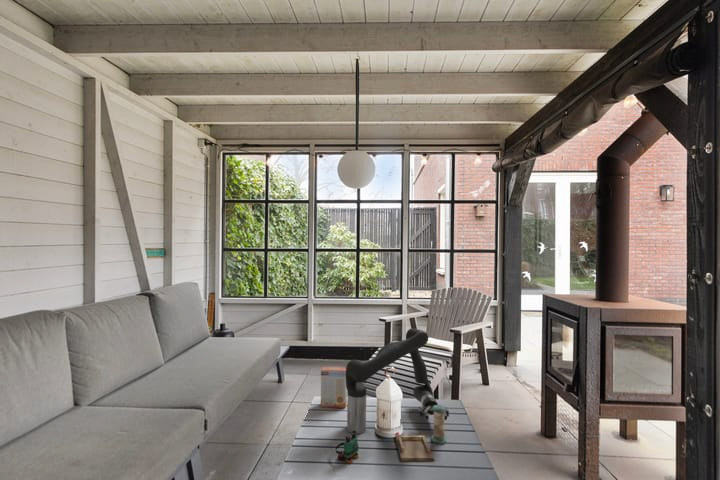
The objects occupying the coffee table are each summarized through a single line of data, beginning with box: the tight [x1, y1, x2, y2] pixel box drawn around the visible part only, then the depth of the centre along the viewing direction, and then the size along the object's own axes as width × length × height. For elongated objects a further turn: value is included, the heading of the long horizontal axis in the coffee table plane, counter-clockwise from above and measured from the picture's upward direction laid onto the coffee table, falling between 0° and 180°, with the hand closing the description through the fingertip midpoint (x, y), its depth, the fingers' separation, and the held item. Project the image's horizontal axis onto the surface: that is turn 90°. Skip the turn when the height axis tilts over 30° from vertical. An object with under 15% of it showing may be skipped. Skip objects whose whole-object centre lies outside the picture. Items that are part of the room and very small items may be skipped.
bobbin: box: [430, 404, 447, 445], centre depth 182 cm, size 7×7×15 cm
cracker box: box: [320, 366, 348, 409], centre depth 219 cm, size 14×6×21 cm, turn 84°
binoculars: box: [335, 431, 360, 464], centre depth 167 cm, size 9×11×10 cm
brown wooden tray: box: [395, 434, 435, 462], centre depth 175 cm, size 14×20×3 cm
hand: (436, 418), depth 187 cm, fingers open, 8 cm apart
